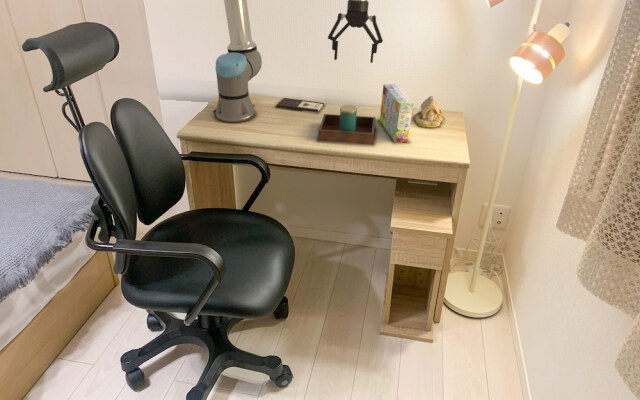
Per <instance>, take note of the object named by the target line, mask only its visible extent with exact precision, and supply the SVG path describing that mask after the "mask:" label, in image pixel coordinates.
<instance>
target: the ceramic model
mask: <svg viewBox="0 0 640 400" xmlns="http://www.w3.org/2000/svg"><path fill="white" fill-rule="evenodd" d="M442 114H443V109H442V108H441V107H440V106H439V105H438V104H437V102H436V100H435V97H434V96H432V95H429V96H428V97H427V98H426V99H425V100H423V102H422V103H421V104H420V111H417V112H416V114H415V115H414V120H415V122H416V124H417V126H419V127H421V128H437V127H439V126H440V125H441V122H442V121H443V120H444V116H442Z"/></svg>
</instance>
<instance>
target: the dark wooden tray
mask: <svg viewBox="0 0 640 400" xmlns="http://www.w3.org/2000/svg"><path fill="white" fill-rule="evenodd" d="M375 124H376V116H364V115H363V116H362V115H357V116H356V132H348V131H339V129H340V114H333V113H323V116H322V119H321V122H320V125H319V128H318V141H319V142H332V143H345V144H361V145H374V137H375V126H376V125H375Z"/></svg>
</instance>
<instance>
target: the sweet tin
mask: <svg viewBox="0 0 640 400" xmlns="http://www.w3.org/2000/svg"><path fill="white" fill-rule="evenodd" d="M357 114H358V107H357V106H355V105H352V104H343V105H341V106H340V107H339V115H340V129H339V131H348V132H356V116H358V115H357Z"/></svg>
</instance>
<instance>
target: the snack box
mask: <svg viewBox="0 0 640 400" xmlns="http://www.w3.org/2000/svg"><path fill="white" fill-rule="evenodd" d="M380 105H381V106H380V114H379V122H380V123H381V124H382V126H383V127H384V129H385V130H386V132H387V134H388V135H389V136H390V138H391V139H392V141H393V142H394V143H408V142H409V135H410V129H411V122H412V117H413V116H412V114H413V109H414V102H413V101H412V100H411V99H410V98H409V97H408V96H407V95H406V93H405V92H404V91H403V90H402V89H401V88H400V87H399V86H398V85H397V84H396V83H387V84H386V83H385V84H384V83H383V84H382V95H381V104H380Z"/></svg>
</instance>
